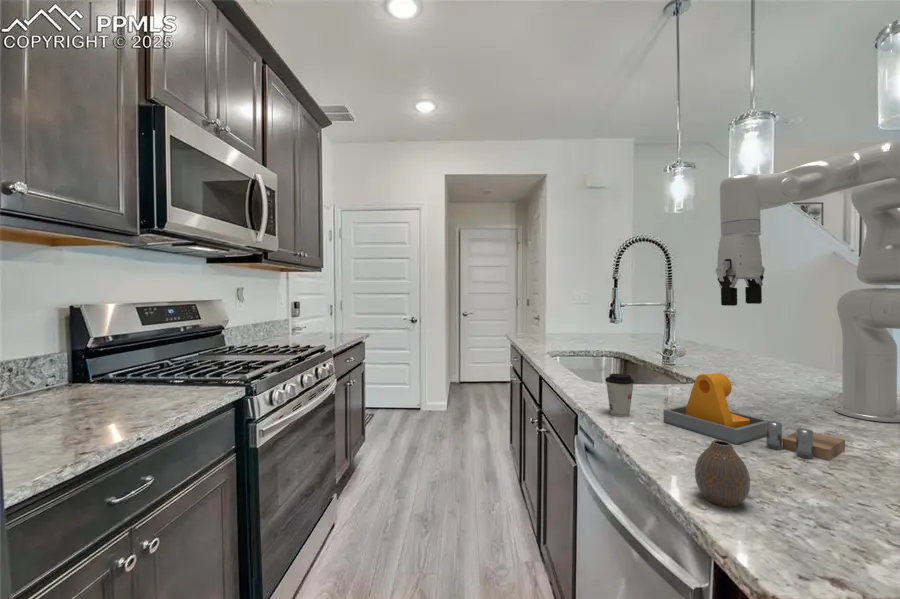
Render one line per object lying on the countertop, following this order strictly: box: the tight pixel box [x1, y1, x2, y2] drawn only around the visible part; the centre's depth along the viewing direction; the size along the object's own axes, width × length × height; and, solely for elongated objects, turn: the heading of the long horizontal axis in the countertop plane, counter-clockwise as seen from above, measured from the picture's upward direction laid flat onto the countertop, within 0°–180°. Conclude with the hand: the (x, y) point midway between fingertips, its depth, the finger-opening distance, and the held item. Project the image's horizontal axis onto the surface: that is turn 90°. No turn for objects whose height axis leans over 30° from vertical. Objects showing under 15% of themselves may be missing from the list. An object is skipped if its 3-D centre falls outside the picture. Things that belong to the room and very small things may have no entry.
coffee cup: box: [604, 373, 635, 418], centre depth 105 cm, size 7×7×10 cm
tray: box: [663, 404, 770, 446], centre depth 94 cm, size 13×17×3 cm
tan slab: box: [781, 431, 846, 462], centre depth 81 cm, size 9×7×2 cm
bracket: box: [686, 373, 750, 428], centre depth 94 cm, size 11×7×12 cm, turn 12°
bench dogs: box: [766, 420, 814, 460], centre depth 80 cm, size 2×7×5 cm, turn 26°
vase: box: [694, 439, 751, 508], centre depth 62 cm, size 7×7×9 cm
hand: (741, 304), depth 95 cm, fingers open, 9 cm apart
